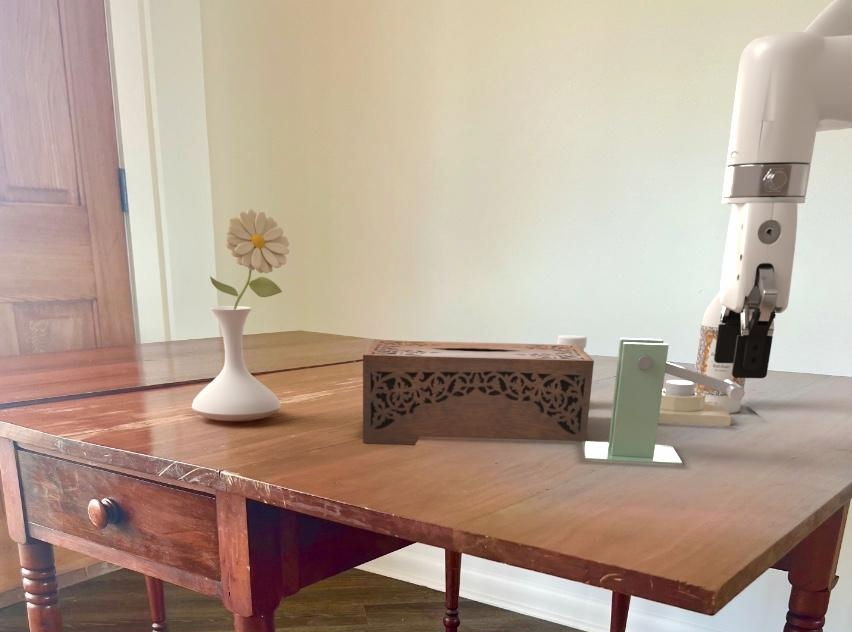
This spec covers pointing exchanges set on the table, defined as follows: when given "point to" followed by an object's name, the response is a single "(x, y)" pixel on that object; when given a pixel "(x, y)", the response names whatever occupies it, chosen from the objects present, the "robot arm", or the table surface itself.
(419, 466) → the table surface
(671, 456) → the lever bracket
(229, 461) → the table surface
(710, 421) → the cream pedestal base
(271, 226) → the flower in vase
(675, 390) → the flush button
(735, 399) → the flush lever
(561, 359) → the tissue box cover
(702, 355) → the bath foam
